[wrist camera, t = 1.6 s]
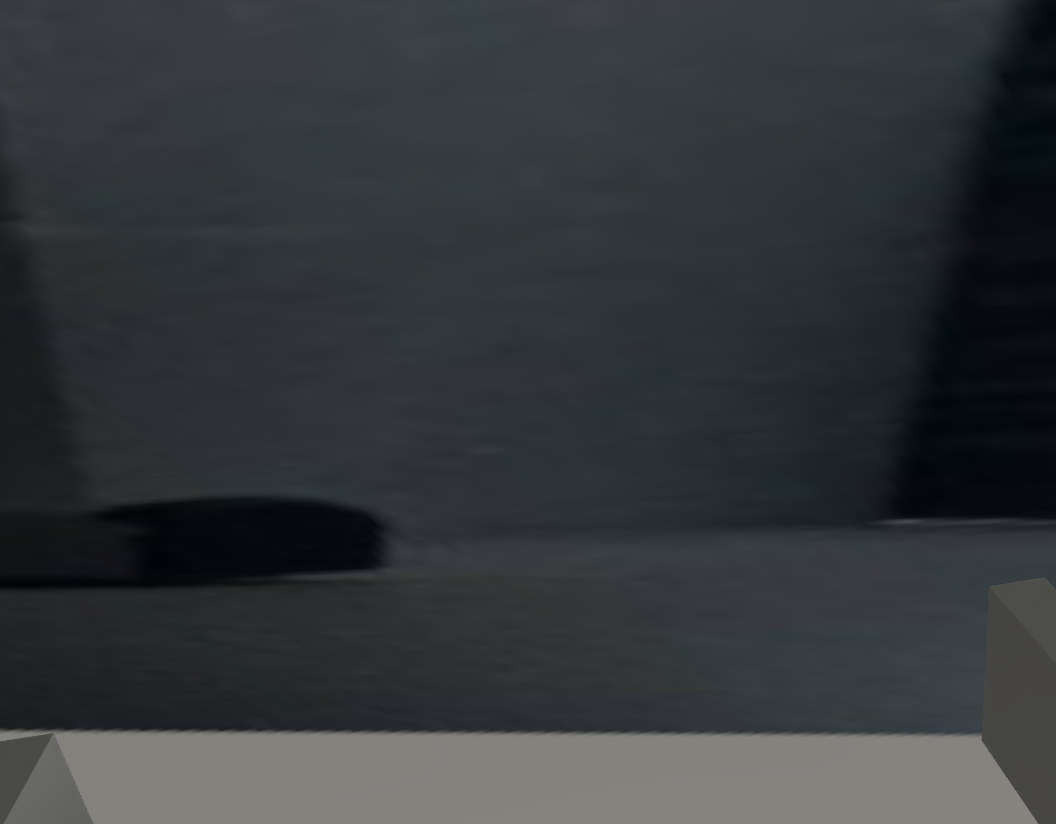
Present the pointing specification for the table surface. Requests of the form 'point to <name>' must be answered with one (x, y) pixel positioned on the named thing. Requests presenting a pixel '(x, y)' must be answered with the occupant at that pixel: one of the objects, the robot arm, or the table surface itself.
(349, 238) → the table surface
